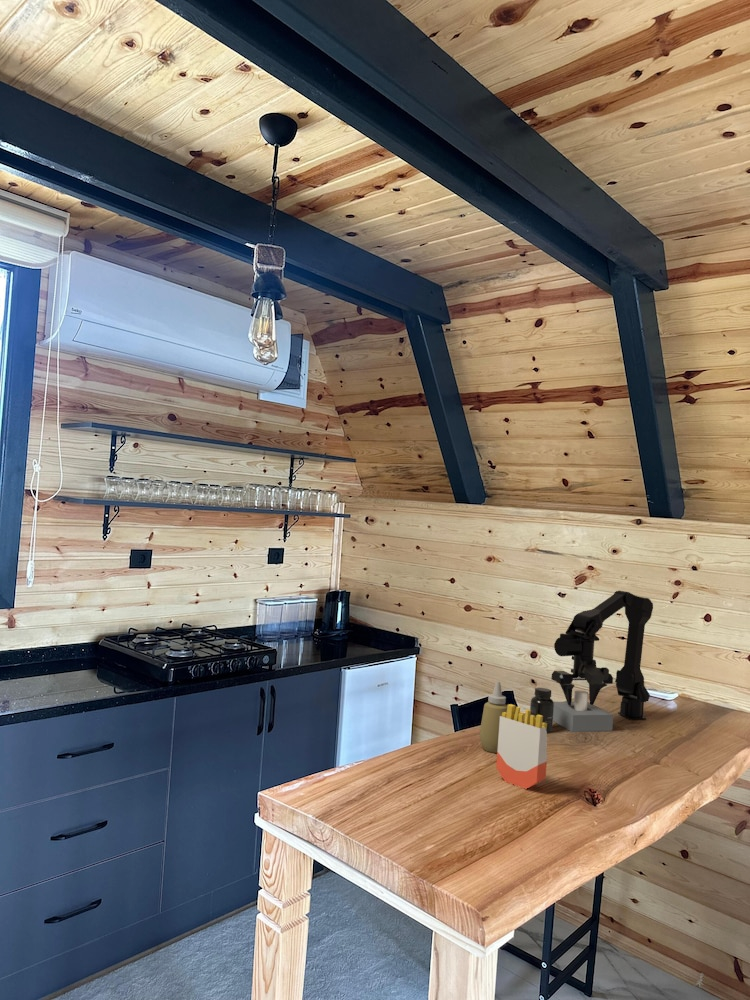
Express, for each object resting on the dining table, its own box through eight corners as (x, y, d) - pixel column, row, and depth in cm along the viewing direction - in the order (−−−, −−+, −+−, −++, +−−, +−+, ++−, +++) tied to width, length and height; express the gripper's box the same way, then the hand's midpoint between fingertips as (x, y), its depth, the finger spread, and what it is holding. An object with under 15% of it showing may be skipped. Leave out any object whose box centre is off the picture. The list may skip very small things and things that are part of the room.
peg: (581, 722, 214) (583, 690, 214) (588, 726, 210) (590, 693, 211) (570, 722, 213) (572, 690, 213) (577, 726, 209) (579, 693, 209)
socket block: (585, 716, 221) (586, 701, 221) (612, 731, 207) (613, 714, 207) (547, 717, 217) (548, 701, 217) (572, 732, 203) (573, 715, 203)
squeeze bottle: (510, 747, 185) (515, 681, 185) (506, 757, 177) (511, 688, 178) (481, 742, 188) (485, 677, 188) (475, 751, 180) (480, 683, 180)
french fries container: (505, 773, 166) (510, 699, 166) (545, 788, 158) (551, 711, 159) (495, 778, 162) (500, 702, 163) (535, 793, 155) (541, 714, 155)
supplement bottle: (552, 734, 199) (555, 693, 200) (528, 731, 201) (531, 690, 201) (551, 727, 206) (554, 688, 206) (528, 724, 207) (531, 685, 208)
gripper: (572, 660, 202) (568, 713, 202) (625, 661, 207) (622, 712, 207) (552, 652, 212) (548, 702, 212) (603, 652, 218) (600, 701, 218)
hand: (580, 704), depth 212 cm, fingers open, 8 cm apart
